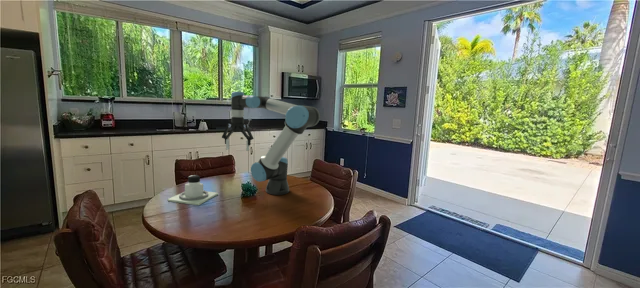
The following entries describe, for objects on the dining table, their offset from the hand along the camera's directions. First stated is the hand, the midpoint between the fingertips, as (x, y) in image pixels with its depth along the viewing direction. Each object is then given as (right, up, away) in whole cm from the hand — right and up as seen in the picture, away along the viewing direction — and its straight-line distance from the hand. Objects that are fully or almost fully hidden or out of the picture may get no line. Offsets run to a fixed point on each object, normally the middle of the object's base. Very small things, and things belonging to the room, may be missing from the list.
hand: (237, 149), depth 173 cm
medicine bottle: (-20, -27, -16) cm, 37 cm away
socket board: (-20, -27, -16) cm, 38 cm away
